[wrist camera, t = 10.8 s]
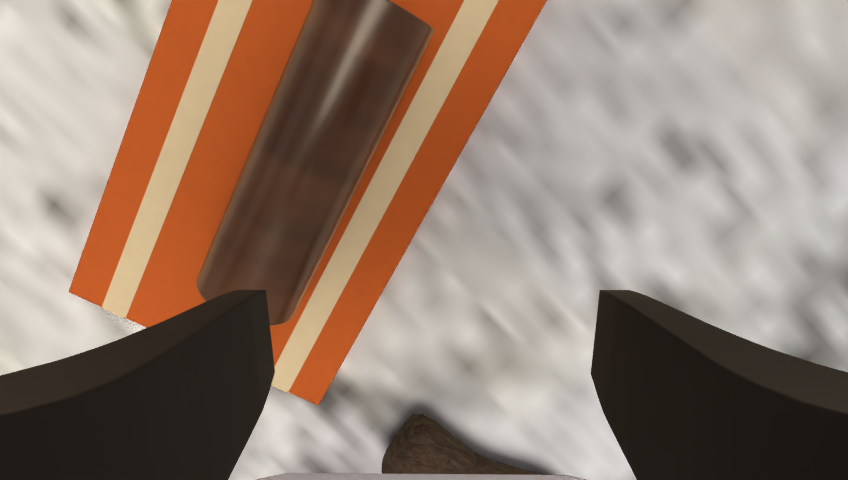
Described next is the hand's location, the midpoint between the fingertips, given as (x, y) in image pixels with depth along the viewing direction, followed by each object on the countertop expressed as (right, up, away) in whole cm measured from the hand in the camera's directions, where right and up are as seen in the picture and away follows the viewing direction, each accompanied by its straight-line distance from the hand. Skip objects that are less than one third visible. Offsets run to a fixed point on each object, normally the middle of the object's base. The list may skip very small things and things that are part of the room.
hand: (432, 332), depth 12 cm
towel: (-5, +6, +8) cm, 11 cm away
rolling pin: (-4, +5, +6) cm, 9 cm away
